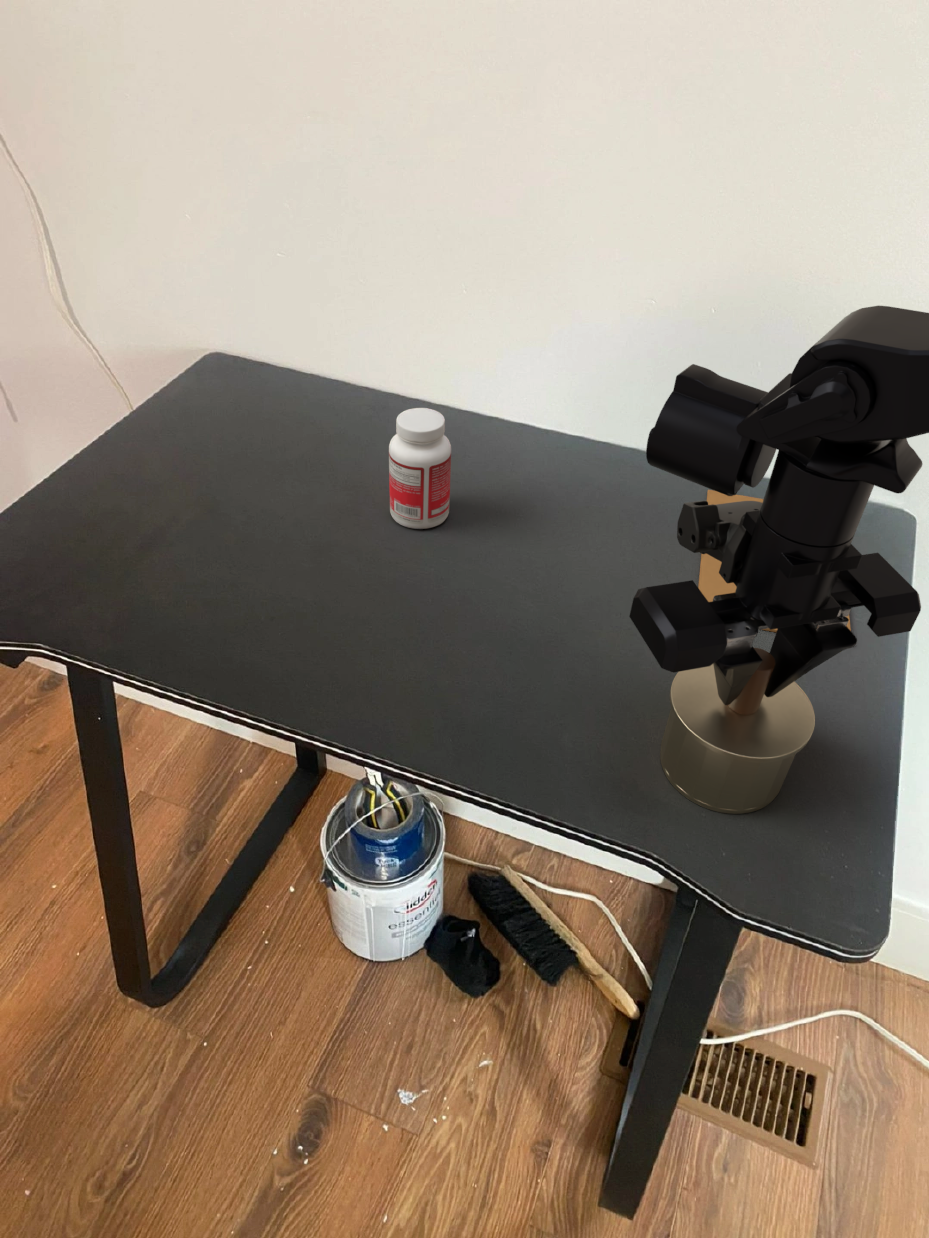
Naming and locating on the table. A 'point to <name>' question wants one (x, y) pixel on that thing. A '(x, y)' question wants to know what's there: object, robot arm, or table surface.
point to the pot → (718, 774)
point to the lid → (743, 715)
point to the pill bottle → (419, 469)
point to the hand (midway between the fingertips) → (744, 696)
